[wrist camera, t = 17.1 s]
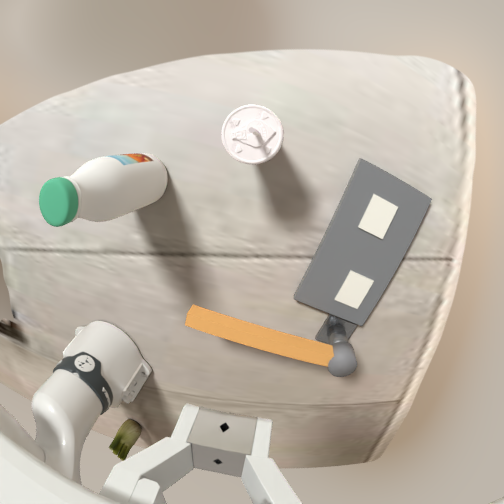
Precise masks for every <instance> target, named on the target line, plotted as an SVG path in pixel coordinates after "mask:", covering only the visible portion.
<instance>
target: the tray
mask: <svg viewBox="0 0 504 504" xmlns="http://www.w3.org/2000/svg"><path fill="white" fill-rule="evenodd" d="M431 200H432V199H431V198H430V197H428V196H427V195H425V194H423V193H422V192H420V191H418V190H417V189H415V188H414V187H412V186H410V185H408V184H407V183H405V182H403V181H402V180H400V179H398V178H396V177H395V176H393V175H391V174H389V173H388V172H386V171H384V170H382V169H380V168H378V167H377V166H375V165H373V164H371V163H369V162H367V161H365V160H363V159H361V158H359V160H358V162H357V165H356V167H355V169H354V172H353V174H352V176H351V178H350V181H349V183H348V185H347V187H346V190H345V192H344V194H343V196H342V198H341V201H340V203H339V205H338V207H337V209H336V211H335V213H334V216H333V218H332V220H331V222H330V224H329V226H328V228H327V230H326V232H325V234H324V237H323V239H322V241H321V243H320V245H319V247H318V249H317V251H316V253H315V255H314V257H313V259H312V261H311V263H310V265H309V267H308V269H307V271H306V273H305V275H304V277H303V279H302V281H301V283H300V284H299V286H298V288H297V290H296V292H295V294H294V299H295V300H297V301H299V302H302V303H304V304H307V305H309V306H312V307H314V308H317V309H319V310H322V311H325V312H327V313H330V314H332V315H335V316H337V317H340V318H342V319H345V320H348V321H350V322H353V323H355V324H358V325H361V326H362V325H363V324H364V322H365V321H366V319H367V318H368V316H369V315H370V313H371V311H372V310H373V308H374V307H375V305H376V304H377V302H378V300H379V299H380V297H381V295H382V294H383V292H384V290H385V289H386V287H387V285H388V284H389V282H390V280H391V278H392V277H393V275H394V273H395V271H396V270H397V268H398V266H399V264H400V262H401V261H402V259H403V257H404V255H405V253H406V251H407V249H408V247H409V246H410V244H411V242H412V240H413V238H414V236H415V234H416V232H417V230H418V228H419V226H420V224H421V222H422V219H423V217H424V215H425V213H426V211H427V209H428V207H429V204H430V202H431Z"/></svg>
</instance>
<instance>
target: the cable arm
mask: <svg viewBox="0 0 504 504" xmlns="http://www.w3.org/2000/svg"><path fill="white" fill-rule="evenodd" d="M185 326H188V327H191V328H194V329H197V330H200V331H203V332H206V333H209V334H212V335H215V336H218V337H221V338H224V339H227V340H230V341H234V342H237V343H240V344H243V345H247V346H250V347H254V348H257V349H260V350H264V351H268V352H271V353H275V354H278V355H282V356H286V357H290V358H294V359H297V360H301V361H305V362H310V363H314V364H318V365H322V366H327V367H328V370H329V372H330V373H331V374H332V375H333V376H336V377H344V376H347V375H350V374H351V373H353V372H354V371H355V369H356V367H357V361H356V357H355V353H354V349H353V347H352V345H351V344H350V343H348V342H337V343H334V344H332V345H329V344H325V343H321V342H317V341H313V340H309V339H305V338H302V337H298V336H294V335H291V334H287V333H283V332H280V331H276V330H273V329H269V328H266V327H262V326H259V325H256V324H252V323H249V322H246V321H243V320H239V319H236V318H233V317H230V316H227V315H223V314H220V313H217V312H214V311H211V310H208V309H205V308H202V307H199V306H196V305H192V307H191V308H190V310H189V311H188V313H187V317H186V322H185Z"/></svg>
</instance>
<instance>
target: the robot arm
mask: <svg viewBox="0 0 504 504" xmlns="http://www.w3.org/2000/svg"><path fill="white" fill-rule="evenodd" d="M75 335H76V337H75V338H74V339H73V340H72V341H71V343H70V344H69V345H68V346H67V348H66V349H65V350H64V352H63V356H64V358H63V359H62V360H61V361H60V362H59V363H58V364H57V366H56V367H55V368H54V370H53V374H52V375H51V376H50V377H49V378H48V379H47V380H46V381H45V383H44V384H43V385H42V386H41V387H40V388H39V389H38V390H37V391H36V392H35V394H34V396H33V399H32V412H33V416H34V419H35V422H36V439H35V440H33V438H32V437H31V436H30V435H29V434H28V433H27V432H26V430H25V429H24V428H23V427H22V426H21V425H20V424H19V422H18V421H17V420H16V419H15V418H14V416H12V415H11V414H10V413H9V412H8V411H7V410H6V409H5V408H4V407H3V406H2V405H1V404H0V504H167V503H166V501H165V498H164V496H163V494H162V492H163V491H165V490H166V489H167V488H169V487H170V486H172V485H173V484H174V483H176V482H177V481H178V480H180V479H181V478H182V477H184V476H185V475H186V474H187V473H189V472H190V471H191V470H193V468H198V469H202V470H208V471H213V472H218V473H222V474H227V475H232V476H237V477H241V479H242V481H243V484H244V486H245V488H246V490H247V492H248V494H249V496H250V498H251V500H252V502H253V504H302V503H301V501H300V500H299V498H298V497H297V495H296V494H295V492H294V491H293V489H292V488H291V486H290V485H289V483H288V482H287V480H286V479H285V477H284V476H283V474H282V473H281V471H280V469H279V468H278V466H277V465H276V463H275V461H274V460H273V459H272V458H268V457H269V449H270V440H271V432H272V423H273V422H272V419H264V418H257V417H253V416H246V415H240V414H234V413H226V412H221V411H217V410H212V409H208V408H204V407H200V406H196V405H192V404H188V403H186V405H185V406H184V408H183V410H182V412H181V415H180V417H179V419H178V422H177V424H176V426H175V429H174V431H173V433H172V436H171V438H170V437H165V438H164V439H162V440H160V441H158V442H157V443H155V444H153V445H151V446H150V447H148V448H146V449H144V450H142V451H141V452H139V453H137V454H135V455H133V456H131V457H129V458H128V459H126V460H124V461H122V462H120V463H118V464H116V465H115V466H114V468H113V469H112V471H111V473H110V475H109V477H108V479H107V480H106V482H105V484H104V486H103V488H102V490H101V492H100V493H99V494H98V493H96V492H94V491H92V490H90V489H88V488H86V487H84V486H82V484H81V479H80V457H81V451H82V448H83V444H84V442H85V439H86V437H87V436H88V434H89V432H90V430H91V429H92V427H93V425H94V423H95V422H96V420H97V419H98V417H99V416H100V415H102V414H103V413H104V412H106V411H107V410H108V409H109V407H111V408H117V407H118V406H119V405H120V403H121V402H122V400H123V401H124V402H126V403H127V404H129V402H132V401H133V400H134V399H135V398H136V396H137V394H138V393H139V391H140V390H141V388H142V386H143V385H144V383H145V381H146V380H147V378H148V377H149V375H150V373H151V372H152V369H151V367H150V366H149V365H148V363H147V362H146V361H145V360H144V359H143V358H142V356H141V354H140V352H139V350H138V348H137V347H136V345H135V344H134V342H133V341H132V340H131V339H130V338H129V337H128V336H127V335H126V334H125V333H124V332H123V331H122V330H120V329H119V328H117V327H116V326H114V325H112V324H110V323H107V322H103V321H94V322H91V323H90V324H88V325H87V326H85V327H77V329H76V330H75ZM489 504H504V497H502V498H500V499H498V500H496V501H494V502H492V503H489Z"/></svg>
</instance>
